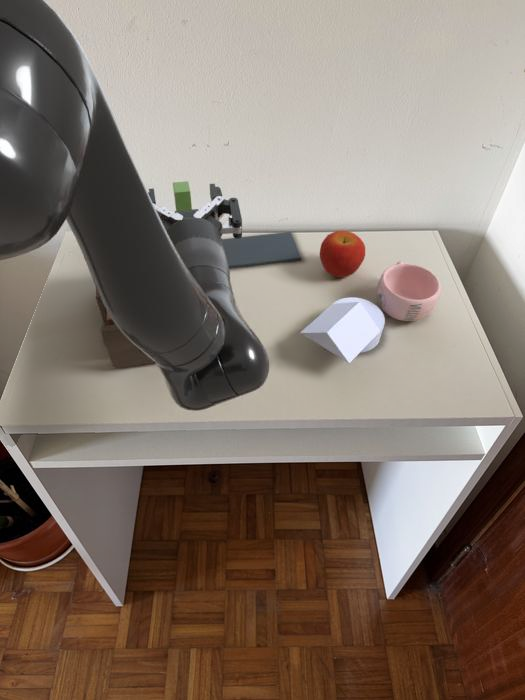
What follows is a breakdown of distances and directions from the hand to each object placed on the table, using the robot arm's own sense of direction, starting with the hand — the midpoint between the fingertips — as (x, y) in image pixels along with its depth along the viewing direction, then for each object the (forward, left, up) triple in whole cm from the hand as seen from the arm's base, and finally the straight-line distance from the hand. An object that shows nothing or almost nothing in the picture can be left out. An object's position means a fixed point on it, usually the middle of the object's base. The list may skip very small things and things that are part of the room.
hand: (182, 191), depth 71 cm
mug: (+35, -9, -20) cm, 41 cm away
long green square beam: (0, +8, -19) cm, 21 cm away
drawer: (-8, -9, -19) cm, 22 cm away
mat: (+10, +9, -20) cm, 24 cm away
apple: (+27, +1, -20) cm, 33 cm away
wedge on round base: (+23, -15, -20) cm, 34 cm away
